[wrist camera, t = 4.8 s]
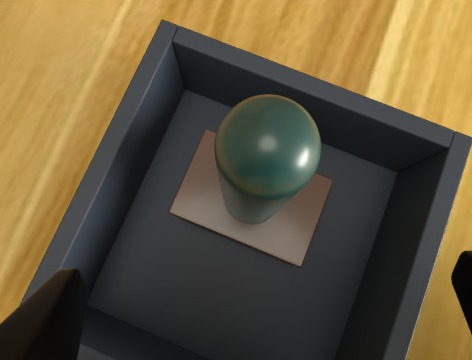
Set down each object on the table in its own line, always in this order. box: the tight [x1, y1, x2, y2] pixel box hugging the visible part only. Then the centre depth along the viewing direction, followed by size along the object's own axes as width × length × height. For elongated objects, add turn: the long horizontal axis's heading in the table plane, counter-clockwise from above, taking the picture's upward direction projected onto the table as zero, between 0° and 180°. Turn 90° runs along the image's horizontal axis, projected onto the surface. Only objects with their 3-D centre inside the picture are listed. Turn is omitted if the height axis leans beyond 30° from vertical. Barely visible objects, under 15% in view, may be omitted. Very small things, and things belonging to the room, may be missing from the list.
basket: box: [19, 20, 472, 360], centre depth 17 cm, size 14×14×5 cm
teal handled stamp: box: [169, 94, 334, 268], centre depth 13 cm, size 6×4×12 cm, turn 68°
